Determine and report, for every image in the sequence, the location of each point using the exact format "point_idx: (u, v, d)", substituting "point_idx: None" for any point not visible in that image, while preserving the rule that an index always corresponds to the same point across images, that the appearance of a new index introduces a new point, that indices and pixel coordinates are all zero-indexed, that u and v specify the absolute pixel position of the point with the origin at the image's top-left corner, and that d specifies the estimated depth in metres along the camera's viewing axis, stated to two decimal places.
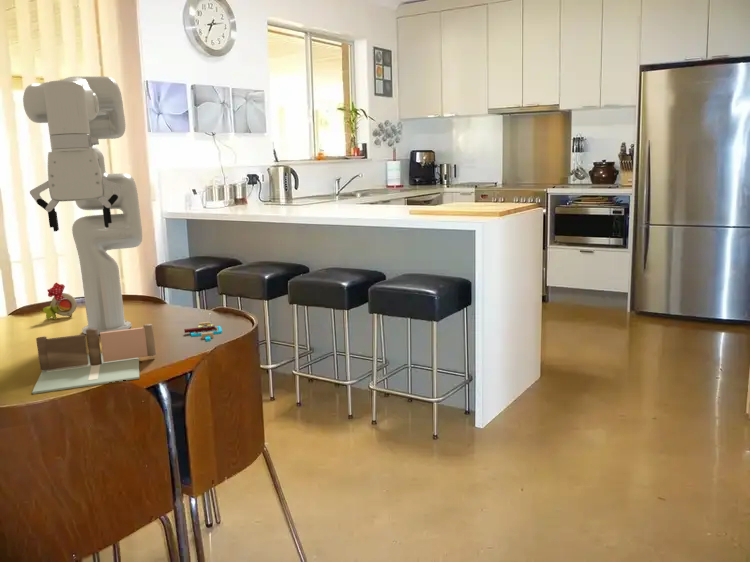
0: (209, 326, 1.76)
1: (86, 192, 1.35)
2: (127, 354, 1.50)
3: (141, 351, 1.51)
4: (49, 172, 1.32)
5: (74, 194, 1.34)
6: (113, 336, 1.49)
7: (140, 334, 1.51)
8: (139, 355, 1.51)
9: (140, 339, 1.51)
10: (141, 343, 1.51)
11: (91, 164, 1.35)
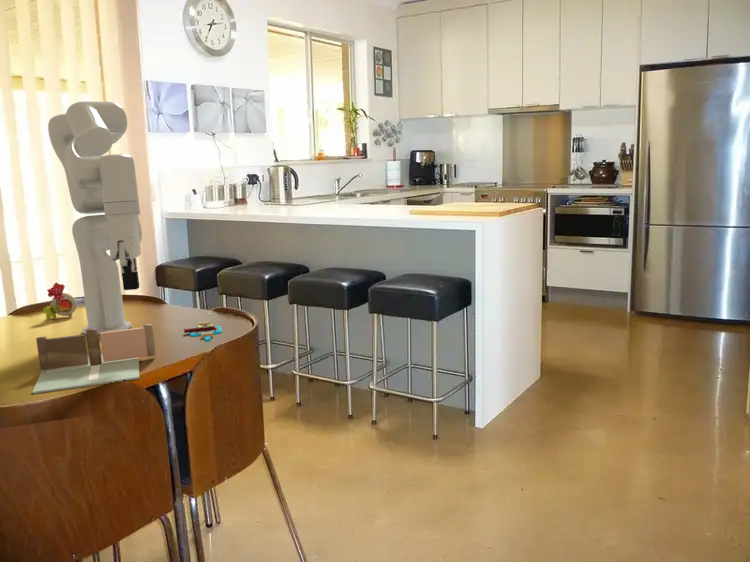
0: (209, 326, 1.76)
1: (138, 250, 1.55)
2: (127, 354, 1.50)
3: (141, 351, 1.51)
4: (129, 234, 1.48)
5: (136, 252, 1.53)
6: (113, 336, 1.49)
7: (140, 334, 1.51)
8: (139, 355, 1.51)
9: (140, 339, 1.51)
10: (141, 343, 1.51)
11: (137, 226, 1.56)
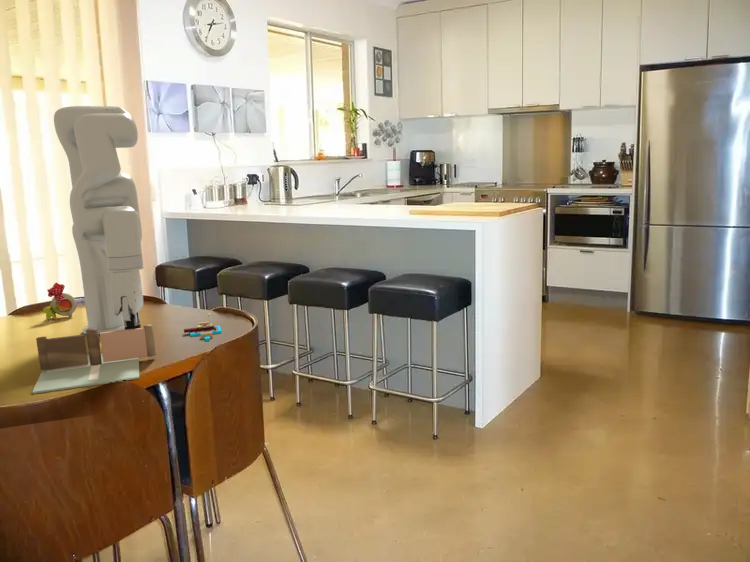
0: (208, 326, 1.75)
1: (141, 303, 1.54)
2: (127, 354, 1.50)
3: (141, 351, 1.51)
4: (132, 289, 1.47)
5: (139, 306, 1.52)
6: (113, 336, 1.48)
7: (140, 334, 1.50)
8: (139, 355, 1.51)
9: (140, 339, 1.50)
10: (141, 343, 1.50)
11: (140, 278, 1.55)
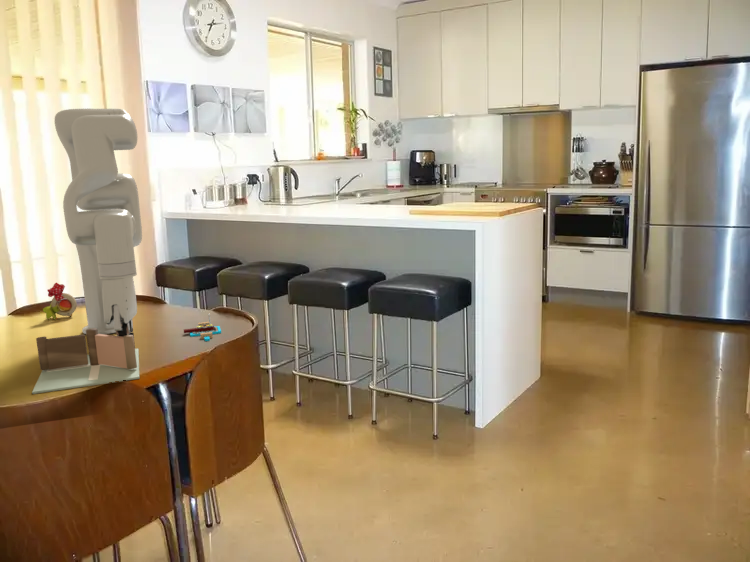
0: (208, 326, 1.75)
1: (134, 310, 1.48)
2: (113, 361, 1.45)
3: (122, 362, 1.43)
4: (124, 297, 1.41)
5: (132, 314, 1.46)
6: (103, 340, 1.45)
7: (121, 344, 1.42)
8: (121, 365, 1.44)
9: (121, 349, 1.43)
10: (122, 353, 1.43)
11: None
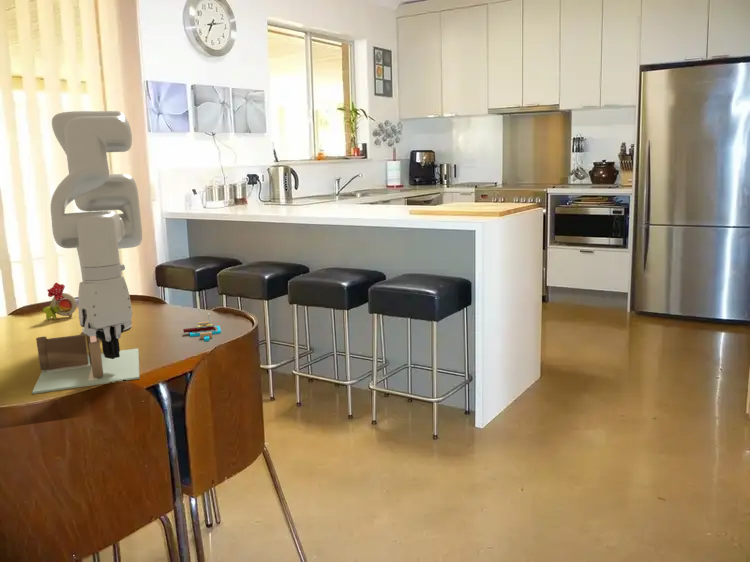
0: (208, 326, 1.75)
1: (121, 317, 1.42)
2: None
3: None
4: (90, 303, 1.36)
5: (111, 320, 1.40)
6: None
7: None
8: None
9: None
10: None
11: (124, 290, 1.42)
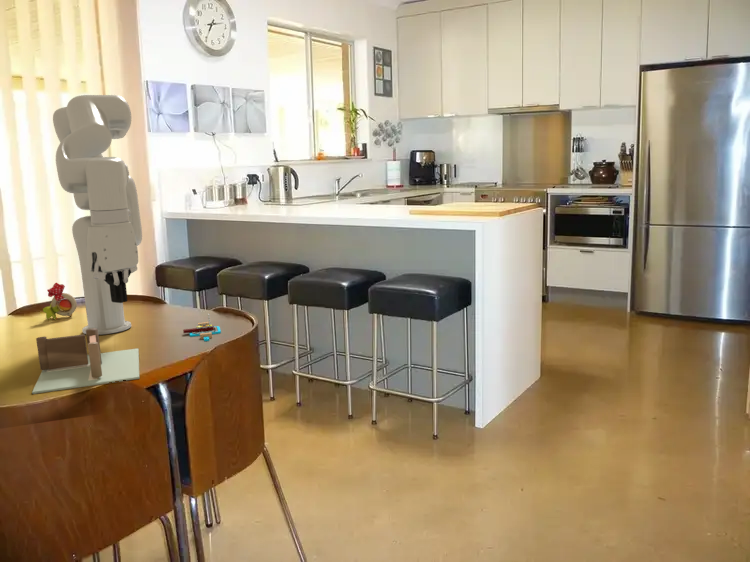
0: (208, 326, 1.75)
1: (129, 261, 1.44)
2: None
3: None
4: (101, 246, 1.38)
5: (120, 264, 1.42)
6: None
7: None
8: None
9: None
10: None
11: (132, 235, 1.44)
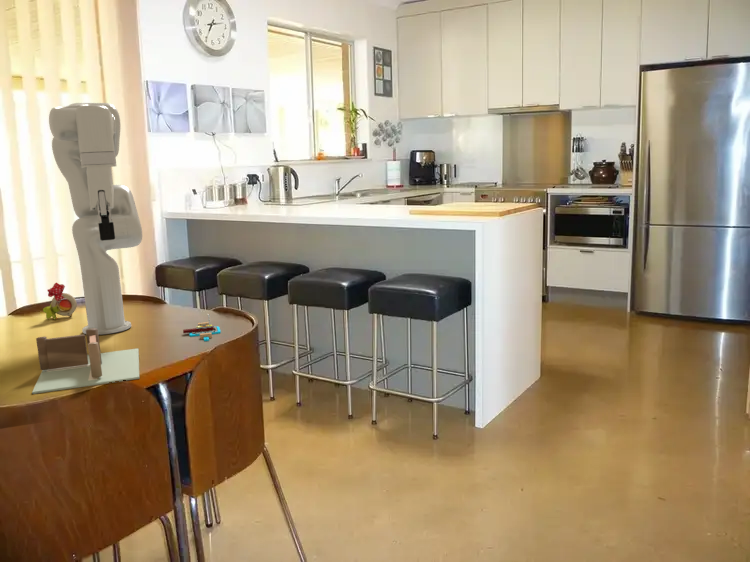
0: (208, 326, 1.75)
1: None
2: None
3: None
4: (109, 184, 1.51)
5: (113, 203, 1.56)
6: None
7: None
8: None
9: None
10: None
11: None
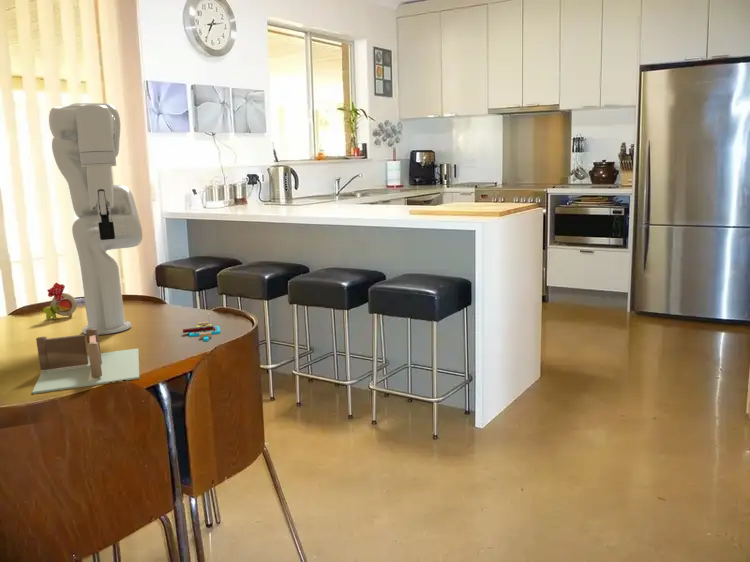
0: (207, 326, 1.75)
1: None
2: None
3: None
4: (109, 183, 1.51)
5: (113, 203, 1.56)
6: None
7: None
8: None
9: None
10: None
11: None
